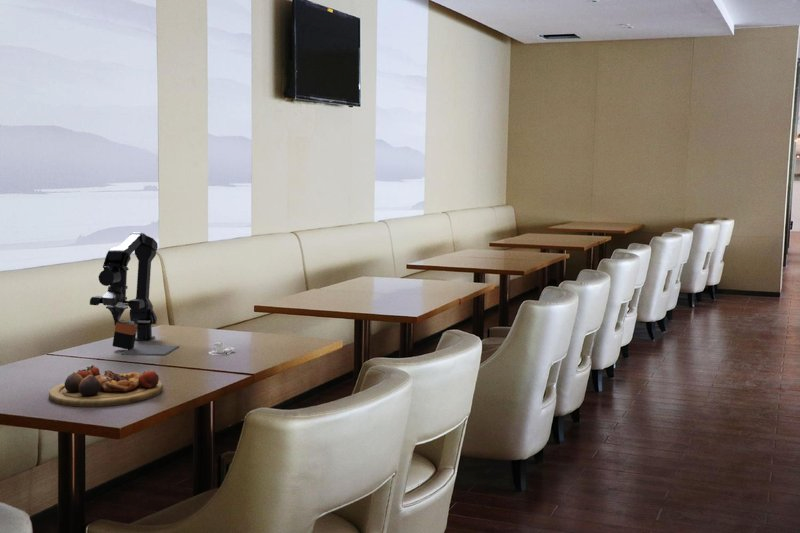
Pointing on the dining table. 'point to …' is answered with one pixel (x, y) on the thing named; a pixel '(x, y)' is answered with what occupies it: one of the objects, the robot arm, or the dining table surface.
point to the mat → (150, 350)
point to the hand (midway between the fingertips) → (116, 325)
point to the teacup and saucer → (221, 349)
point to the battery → (125, 334)
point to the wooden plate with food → (105, 388)
